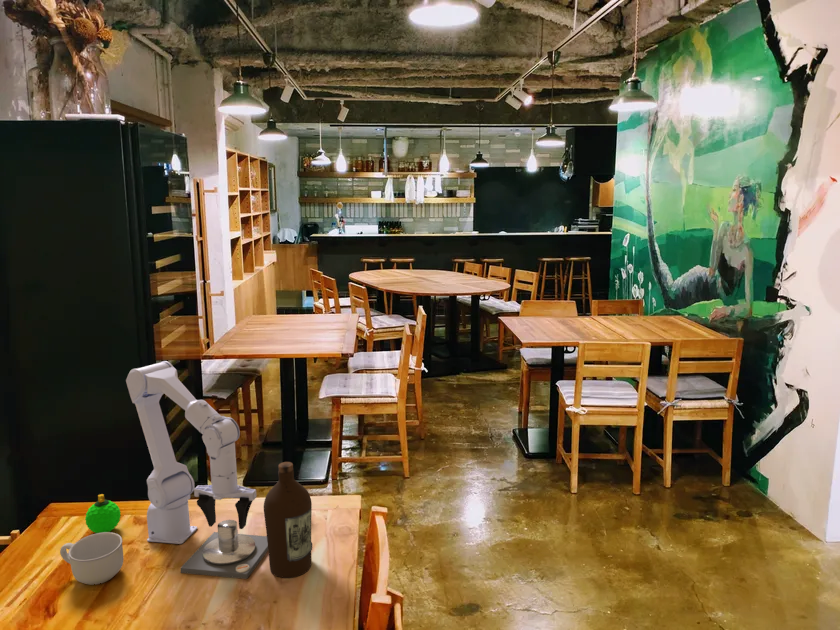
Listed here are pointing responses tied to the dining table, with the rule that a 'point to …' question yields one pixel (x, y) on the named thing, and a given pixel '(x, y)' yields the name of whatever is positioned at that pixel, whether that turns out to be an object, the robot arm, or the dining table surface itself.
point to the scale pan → (220, 558)
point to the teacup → (95, 557)
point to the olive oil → (288, 525)
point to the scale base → (233, 570)
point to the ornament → (102, 515)
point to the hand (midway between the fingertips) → (227, 525)
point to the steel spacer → (228, 536)
